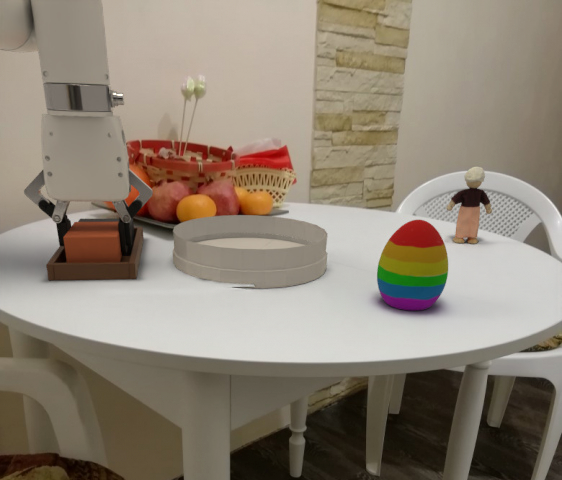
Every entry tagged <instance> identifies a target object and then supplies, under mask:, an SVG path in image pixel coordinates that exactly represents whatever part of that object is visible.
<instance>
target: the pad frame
mask: <svg viewBox="0 0 562 480" xmlns="http://www.w3.org/2000/svg"><path fill="white" fill-rule="evenodd" d="M134 234H135V240H134V244H133V248H132V252H131V256H122V257H121V260H120V262H89V263H67V258H66V254H65V250H64V246H60V245H59V247H58V248H56V251H55V252H54V254H53V255H52V256H51V258H50V259H49V260H48V262H47V263H46V265H45V266H46V273H47V278H48V281H49V282H59V281H64V282H65V281H114V280H115V281H118V280H119V281H120V280H137V277H138V272H139V266H140V261H141V257H142V256H141V255H142V251H143V245H144V240H145V237H144V227H143V226H134Z"/></svg>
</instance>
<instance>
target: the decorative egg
mask: <svg viewBox="0 0 562 480" xmlns="http://www.w3.org/2000/svg"><path fill="white" fill-rule="evenodd" d="M376 271H377V272H376V283H377V288H378V291H379V294H380V296H381V298H382V299H383V301H384V303H385V304H387V305H388V306H390V307H392V308H395V309H398V310H402V311H411V312H412V311H415V312H416V311H424V310H426V309H429V308H431V307H432V306H433V305H434V304H435V303H436V302H437V301H438V300H439V298H440V297H441V295H442V293H443V292H444V289H445V287H446V284H447V280H448V274H449V257H448V251H447V248H446V244H445V241H444V240H443V237H442V236H441V233H440V232H439V231H438V230H437V228H436V227H435V226H434V225H433V224H431V223H430V222H428V221H427V220H425V219H413V220H409V221H408V222H406V223H404V224H402V225H401V226H400V227H399V228H398V229H396V230H395V232H393V234H392V235H391V236H390V237H389V239H388V240H387V242H386V243H385V245H384V246H383V249H382V251H381V254H380V256H379V259H378V263H377V269H376Z"/></svg>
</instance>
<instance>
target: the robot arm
mask: <svg viewBox="0 0 562 480" xmlns="http://www.w3.org/2000/svg"><path fill="white" fill-rule="evenodd" d="M0 51H4V52H11V53H20V54H21V53H34V52H38V53H37V54H38V58H39V66H40V72H41V79H42V87H43V93H44V99H45V107H46V113H42V114H41V121H40V122H41V123H40V124H41V125H40V129H41V130H40V132H41V133H40V134H41V135H40V137H41V138H40V139H41V141H40V142H41V157H42V158H41V159H42V170H41V171H39V173H38V174H37V175H36V176H35V177H34V178H33V180H32V181H31V182H30V183H29V184H28V185H27V187H25V188H24V190H23V194H24V196H26V197H27V198H28V199H29V200H30V201H31V202H33V203H34V205H36V206H37V207H38V208H39V209H40V210H41V211H42V212H43V213H44V214H46V215H47V216H48V217H49V218H50V219H51V220H52V222H54V223H55V225H56V232H57V238H58V239H57V240H58V244H59V247H60V246H64V250H65V245H64V238H63V237H64V236H65V234H66V233H67V232H68V231H69V229H70V228H71V226H72V222H71V220H70V218H68V215H67V214H68V213H67V212H68V209H69V207H70V203H71V202H77V203H78V202H79V203H80V202H81V203H82V202H87V203H89V202H90V203H93V202H97V203H98V202H107V203H109V202H111V204H112V205H113V207H114V209H115V211H116V212H117V214H118V216H119V218H118V219H119V222H118V231H119V237H120V247H121V252H122V253H127V249H128V246H132V236H131V226H130V220H131V219H134V217H135V216H136V215H137V214H138V213H139V212H140V210H142V208H143V207H144V206H145V204H146V203H147V202H148V201H150V199H151V198H152V197H153V194H154V190H153V189H152V188H151V187H150V186H149V185H148V184H147V183H146V182H145V181H143V180H142V178H141V177H139V176H138V175H137V174H136V173H135V172H134V171H133V170H132V169H131V167H130V161H129V160H130V159H129V153H128V146H127V141H126V136H125V135H126V134H125V131H124V127H123V122H122V120H121V116H120V115H114V112H113V111H114V108H116V107H118V106H125V97H124V96H125V95H124V93H123V92H117V90H116V91H115V90H114V89H112V86H111V80H110V79H111V78H110V70H109V60H108V49H107V38H106V28H105V17H104V7H103V0H0ZM44 186H45V191H46V194H47V196H48V197H49V198H51V199H52V200H55V201H56V203H55V204H54V202H52V201H51V200H49V199H48V198H46V197H45V196H44V194H42V192H41V190H42V188H44ZM132 187H133V188H134V189H136V191H138V195H137V196H136V197H135V199H134V200H133V201H132V202H131V203H130V204H129V205H128V203H127V202H126V199H128V198H129V195H130V193H131V192H132ZM65 254H66V252H65Z"/></svg>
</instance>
